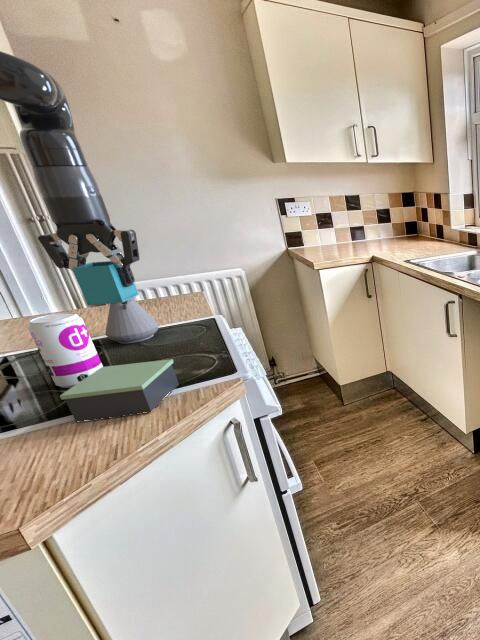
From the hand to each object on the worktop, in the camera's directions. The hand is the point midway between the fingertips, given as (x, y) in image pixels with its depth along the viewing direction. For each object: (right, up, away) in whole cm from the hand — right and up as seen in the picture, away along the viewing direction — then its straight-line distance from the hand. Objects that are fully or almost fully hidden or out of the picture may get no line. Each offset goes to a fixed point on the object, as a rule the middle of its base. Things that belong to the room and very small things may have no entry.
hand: (109, 287), depth 80 cm
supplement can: (-20, -19, +14) cm, 31 cm away
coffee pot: (-25, -11, +35) cm, 45 cm away
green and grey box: (0, -23, +4) cm, 23 cm away
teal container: (0, -2, +1) cm, 2 cm away
